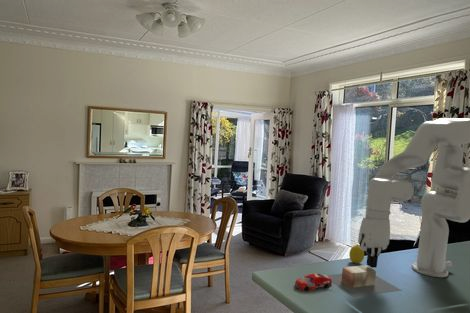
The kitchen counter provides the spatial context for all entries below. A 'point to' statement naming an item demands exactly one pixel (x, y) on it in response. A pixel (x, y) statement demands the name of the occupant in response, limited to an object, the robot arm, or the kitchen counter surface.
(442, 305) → the kitchen counter surface
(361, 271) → the wooden block
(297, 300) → the kitchen counter surface
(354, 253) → the lemon
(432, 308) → the kitchen counter surface
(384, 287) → the rubber mat
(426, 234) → the robot arm
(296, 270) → the kitchen counter surface
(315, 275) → the race car
